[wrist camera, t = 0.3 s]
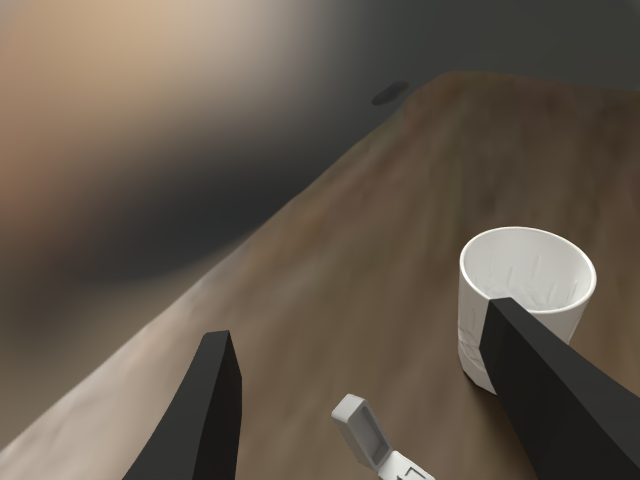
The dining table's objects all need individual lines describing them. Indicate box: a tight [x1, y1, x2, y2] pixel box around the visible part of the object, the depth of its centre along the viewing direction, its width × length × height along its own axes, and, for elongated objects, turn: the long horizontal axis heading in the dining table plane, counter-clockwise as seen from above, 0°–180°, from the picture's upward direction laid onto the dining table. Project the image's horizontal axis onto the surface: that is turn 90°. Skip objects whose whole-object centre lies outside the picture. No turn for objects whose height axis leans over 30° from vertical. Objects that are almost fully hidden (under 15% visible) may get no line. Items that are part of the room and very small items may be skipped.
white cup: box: [458, 227, 596, 395], centre depth 31 cm, size 8×8×10 cm
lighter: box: [332, 394, 435, 480], centre depth 26 cm, size 7×2×8 cm, turn 49°
